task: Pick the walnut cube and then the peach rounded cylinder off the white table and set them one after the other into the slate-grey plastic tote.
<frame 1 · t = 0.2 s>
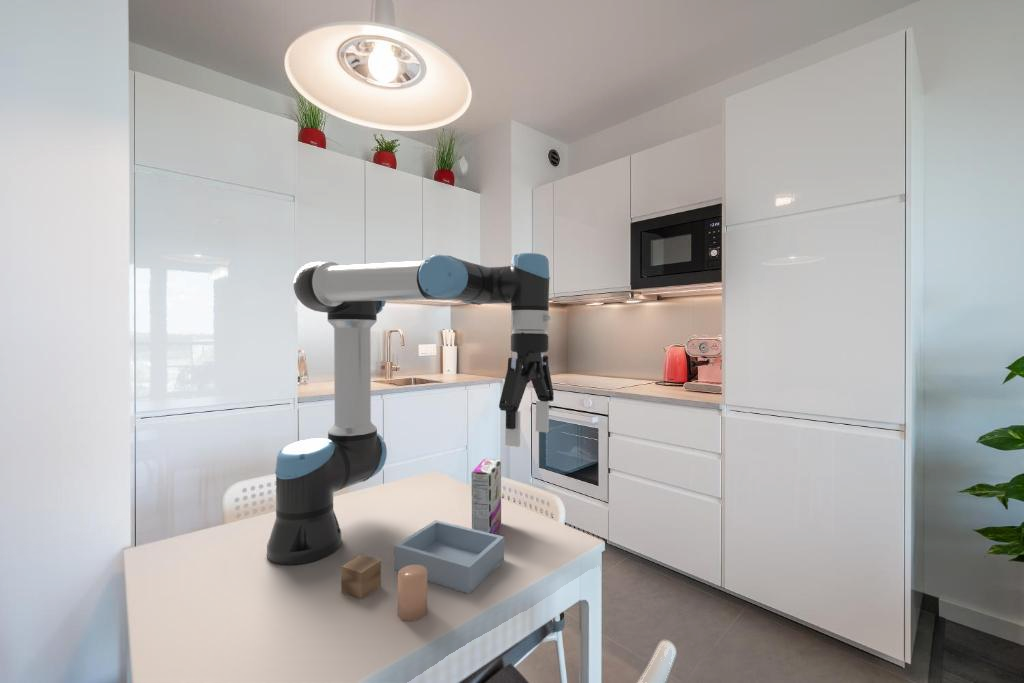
hand: (528, 438, 88), 28 cm above the table, fingers open, 13 cm apart
peach rounded cylinder: (412, 612, 77), on the table
candy bar box: (486, 532, 108), on the table
tote: (450, 564, 92), on the table
walnut cube: (361, 589, 83), on the table
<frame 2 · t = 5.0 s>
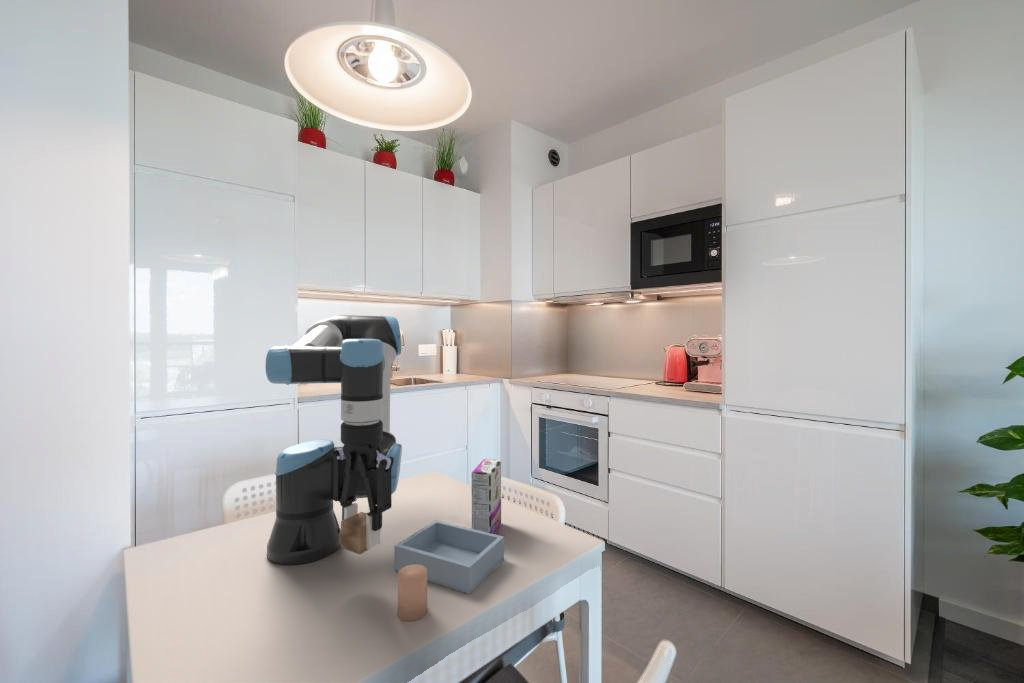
hand: (361, 542, 84), 9 cm above the table, fingers closed on walnut cube, 5 cm apart
walnut cube: (360, 545, 83), point 8 cm above the table, touching gripper
everything else where it was.
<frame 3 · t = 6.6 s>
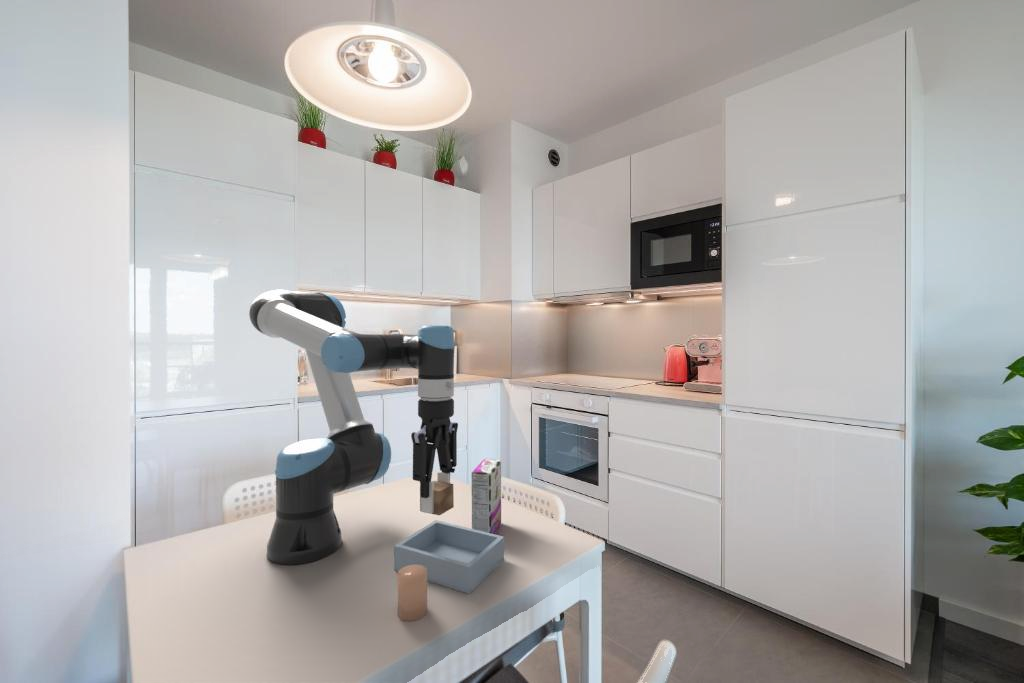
hand: (435, 506, 94), 12 cm above the table, fingers closed on walnut cube, 5 cm apart
walnut cube: (437, 509, 94), point 11 cm above the table, touching gripper
everything else where it was.
when the fingers open (1 cm above the table, at t = 8.7 s): walnut cube stays where it is, resting on tote.
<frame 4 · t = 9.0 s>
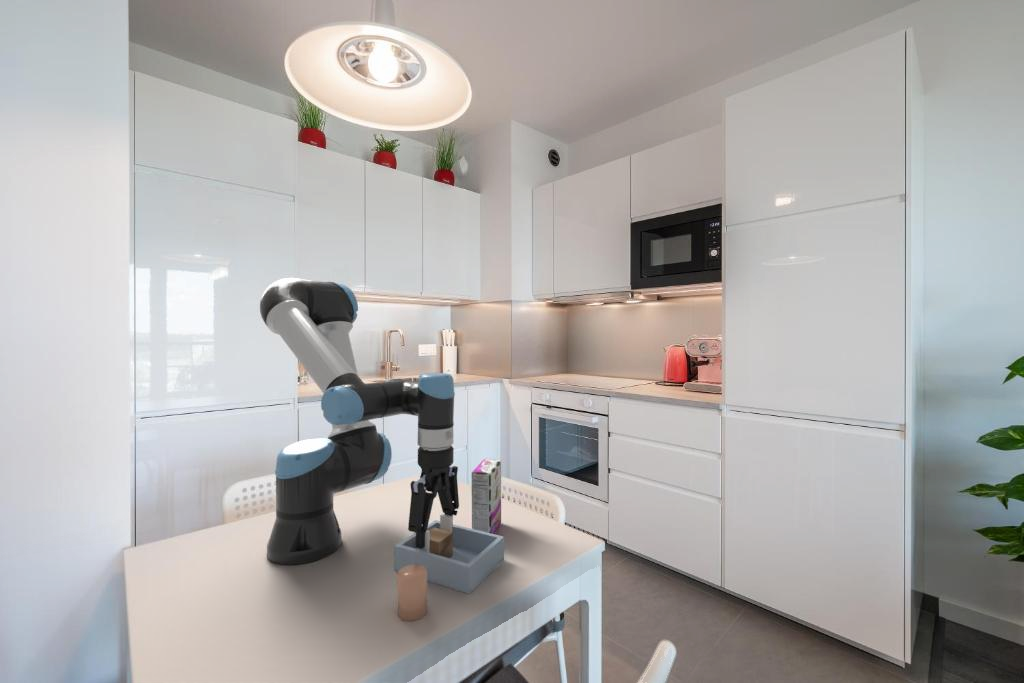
hand: (434, 552, 94), 2 cm above the table, fingers open, 7 cm apart
walnut cube: (436, 557, 94), point 1 cm above the table, touching tote
everything else where it was.
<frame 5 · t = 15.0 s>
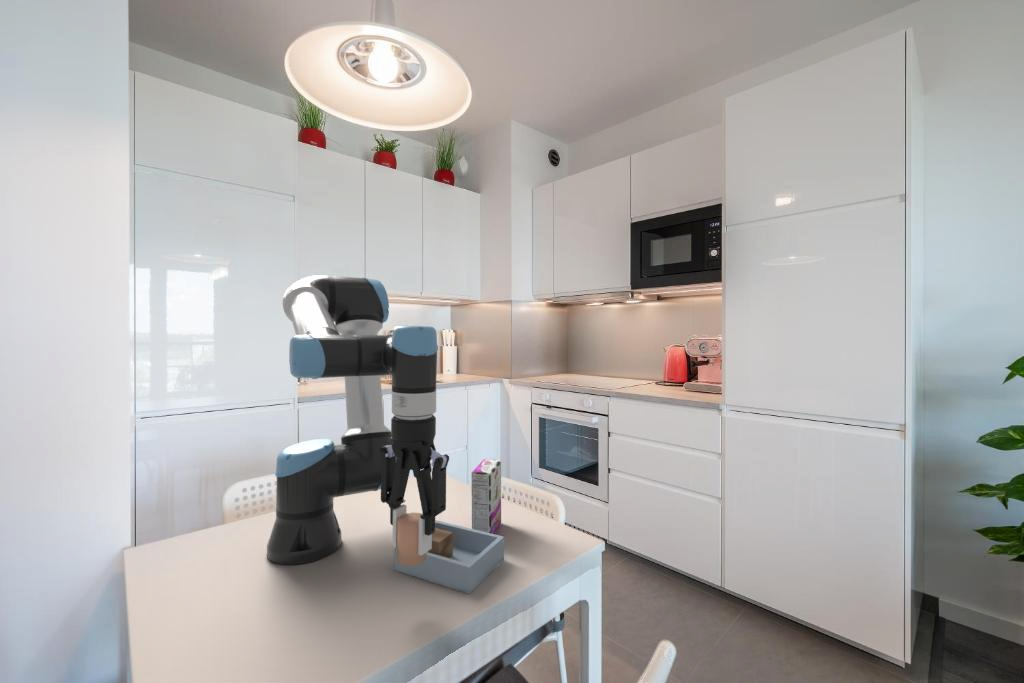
hand: (411, 547, 77), 11 cm above the table, fingers closed on peach rounded cylinder, 5 cm apart
peach rounded cylinder: (411, 558, 77), point 9 cm above the table, touching gripper
everything else where it was.
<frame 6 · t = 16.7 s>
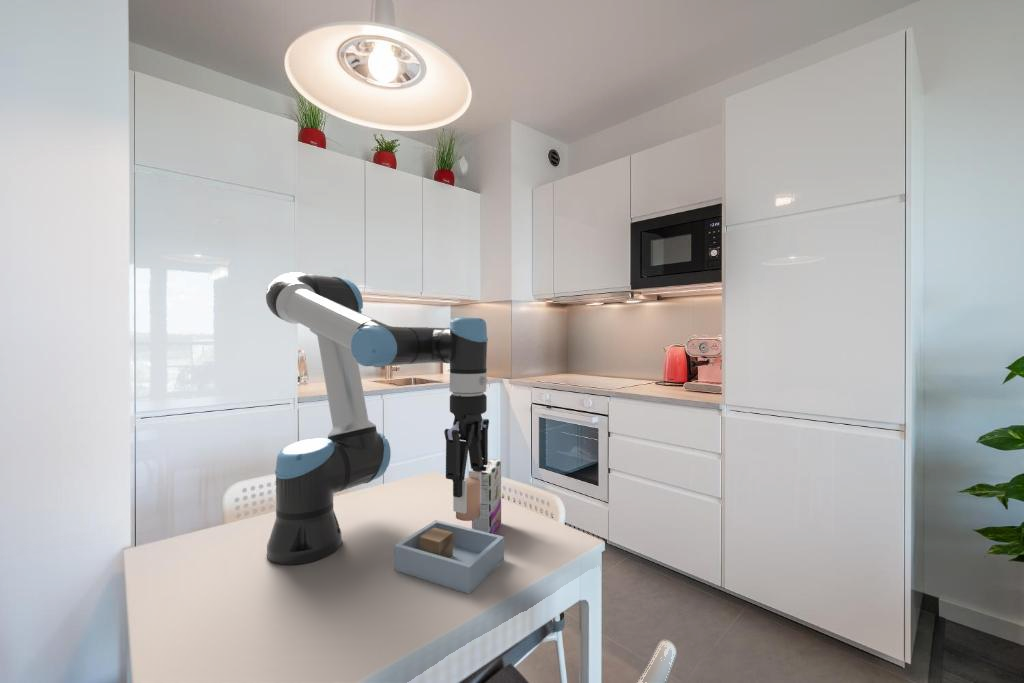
hand: (467, 506, 90), 13 cm above the table, fingers closed on peach rounded cylinder, 5 cm apart
peach rounded cylinder: (468, 515, 90), point 11 cm above the table, touching gripper
everything else where it was.
when the fingers open (2 cm above the table, at t = 19.0 s): peach rounded cylinder stays where it is, resting on tote.
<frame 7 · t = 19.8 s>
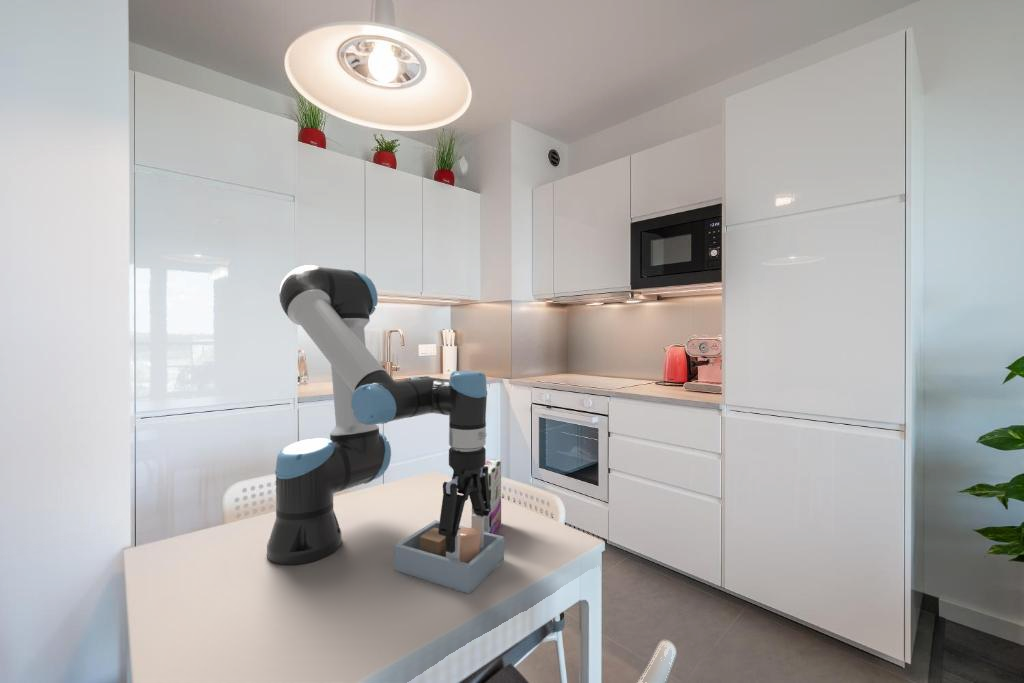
hand: (465, 555, 91), 3 cm above the table, fingers open, 9 cm apart
peach rounded cylinder: (467, 566, 90), point 1 cm above the table, touching tote
everything else where it was.
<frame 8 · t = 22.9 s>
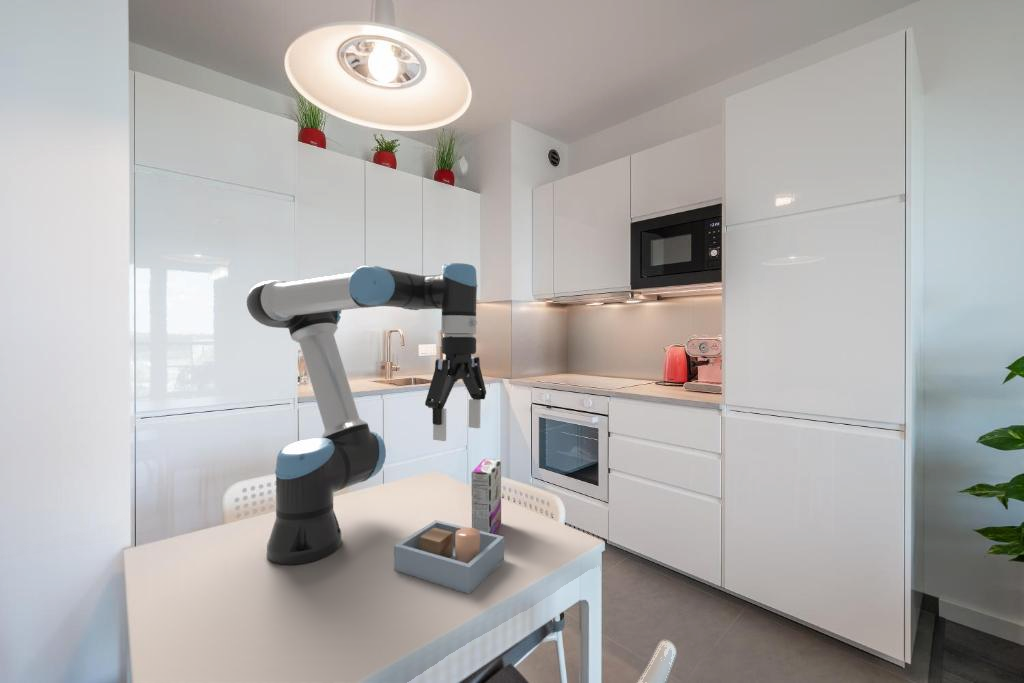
hand: (458, 433, 96), 27 cm above the table, fingers open, 13 cm apart
nothing on the table moved.
at the end: walnut cube inside the target area on the tote (3.6 cm from its centre), point 0.6 cm above the tote's base; peach rounded cylinder inside the target area on the tote (4.2 cm from its centre), point 0.6 cm above the tote's base; the gripper is holding nothing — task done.
